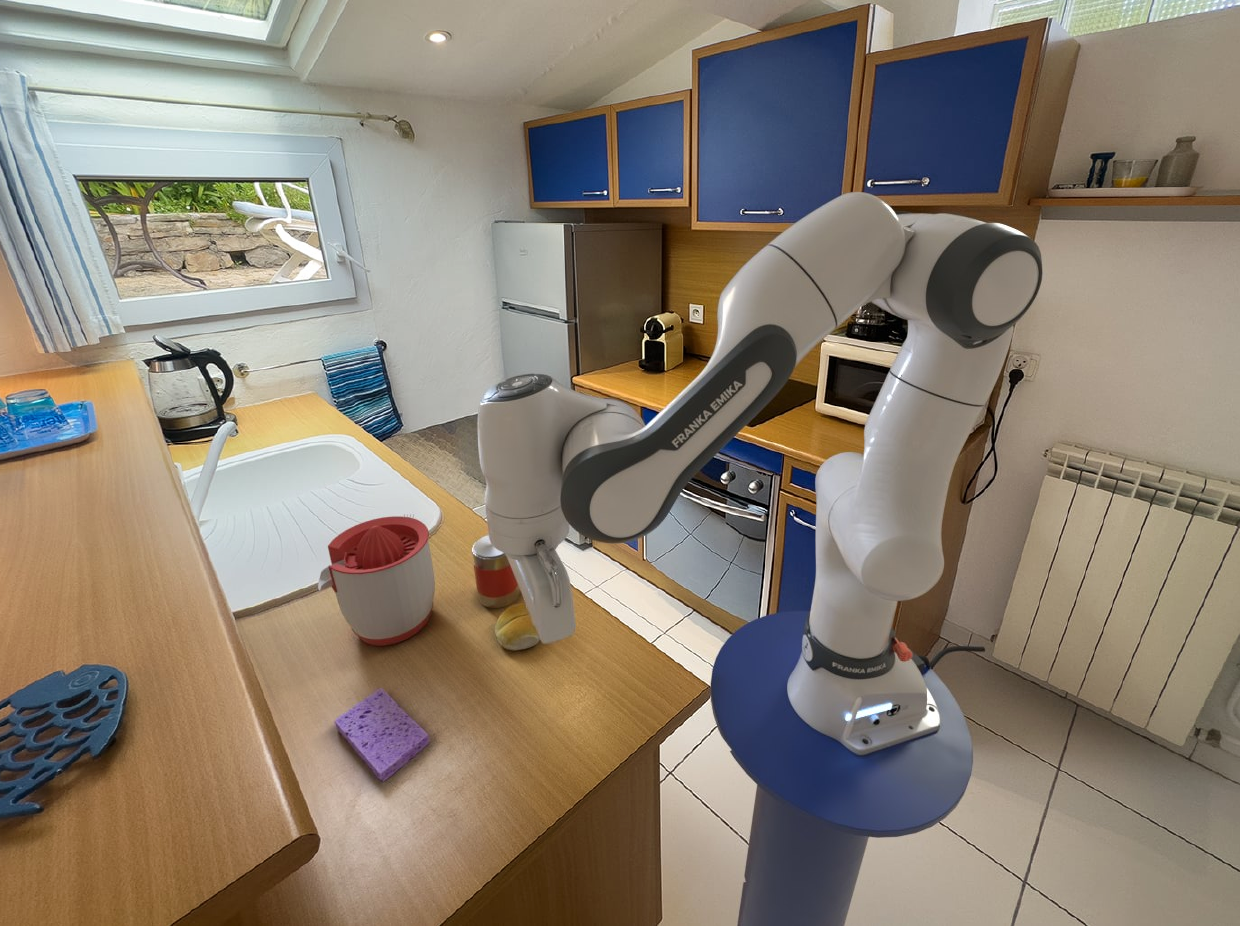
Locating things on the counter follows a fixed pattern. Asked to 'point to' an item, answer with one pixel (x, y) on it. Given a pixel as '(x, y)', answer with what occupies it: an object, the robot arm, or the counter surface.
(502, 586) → the tin can
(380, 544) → the citrus juicer
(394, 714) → the sponge
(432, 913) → the counter surface
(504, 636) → the bread roll
